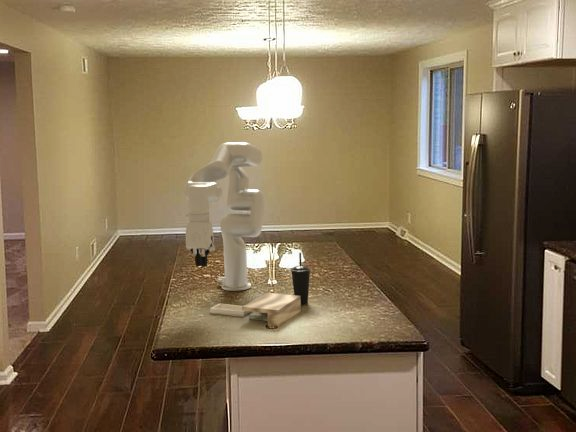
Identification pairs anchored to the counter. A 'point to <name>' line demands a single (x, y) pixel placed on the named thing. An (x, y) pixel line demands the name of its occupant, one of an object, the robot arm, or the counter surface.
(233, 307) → the white rectangular tray
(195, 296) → the counter surface
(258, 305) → the shelf
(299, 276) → the drinking cup
